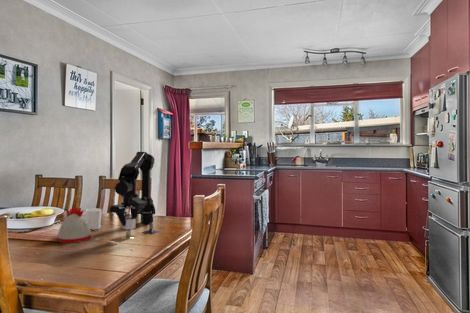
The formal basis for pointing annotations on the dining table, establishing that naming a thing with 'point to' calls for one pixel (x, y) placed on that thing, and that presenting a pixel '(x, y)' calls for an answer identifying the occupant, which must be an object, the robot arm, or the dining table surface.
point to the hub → (128, 235)
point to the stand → (150, 230)
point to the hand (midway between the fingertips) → (128, 224)
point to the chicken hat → (74, 227)
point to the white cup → (93, 218)
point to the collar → (129, 223)
